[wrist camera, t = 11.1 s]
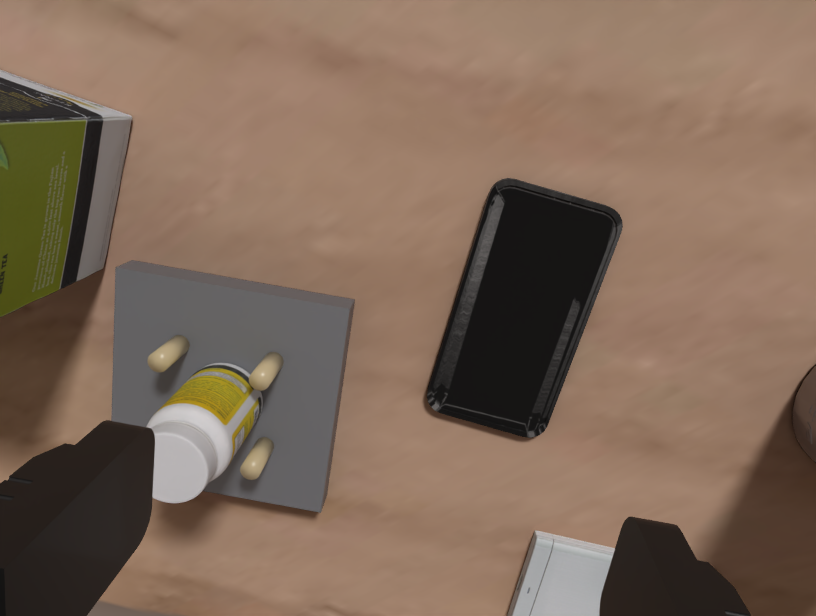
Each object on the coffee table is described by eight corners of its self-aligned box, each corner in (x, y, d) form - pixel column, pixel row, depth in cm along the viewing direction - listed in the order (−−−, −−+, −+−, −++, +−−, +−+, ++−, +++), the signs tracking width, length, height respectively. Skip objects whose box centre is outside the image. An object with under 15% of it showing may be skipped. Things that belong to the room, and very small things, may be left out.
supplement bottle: (177, 371, 39) (105, 437, 31) (248, 352, 38) (193, 414, 30) (206, 439, 40) (144, 519, 32) (275, 422, 40) (229, 499, 32)
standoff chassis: (354, 299, 39) (340, 324, 34) (326, 495, 43) (310, 542, 38) (132, 260, 39) (87, 279, 35) (125, 458, 43) (84, 500, 39)
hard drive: (721, 582, 42) (537, 540, 42) (679, 677, 44) (505, 637, 44) (711, 565, 43) (533, 524, 43) (671, 658, 46) (503, 619, 46)
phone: (422, 408, 40) (495, 174, 36) (423, 400, 41) (494, 172, 37) (542, 442, 40) (630, 213, 36) (540, 433, 41) (625, 210, 37)
